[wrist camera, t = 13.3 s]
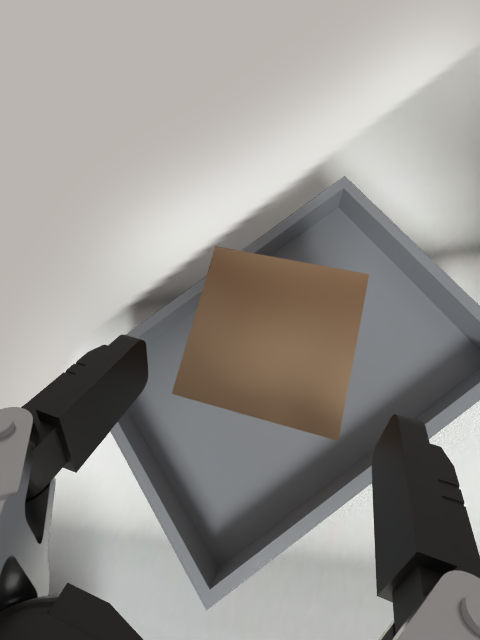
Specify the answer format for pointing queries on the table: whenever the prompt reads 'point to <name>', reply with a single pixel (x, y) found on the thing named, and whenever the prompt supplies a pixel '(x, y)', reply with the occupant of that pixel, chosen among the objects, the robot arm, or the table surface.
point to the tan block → (274, 340)
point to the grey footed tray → (288, 443)
